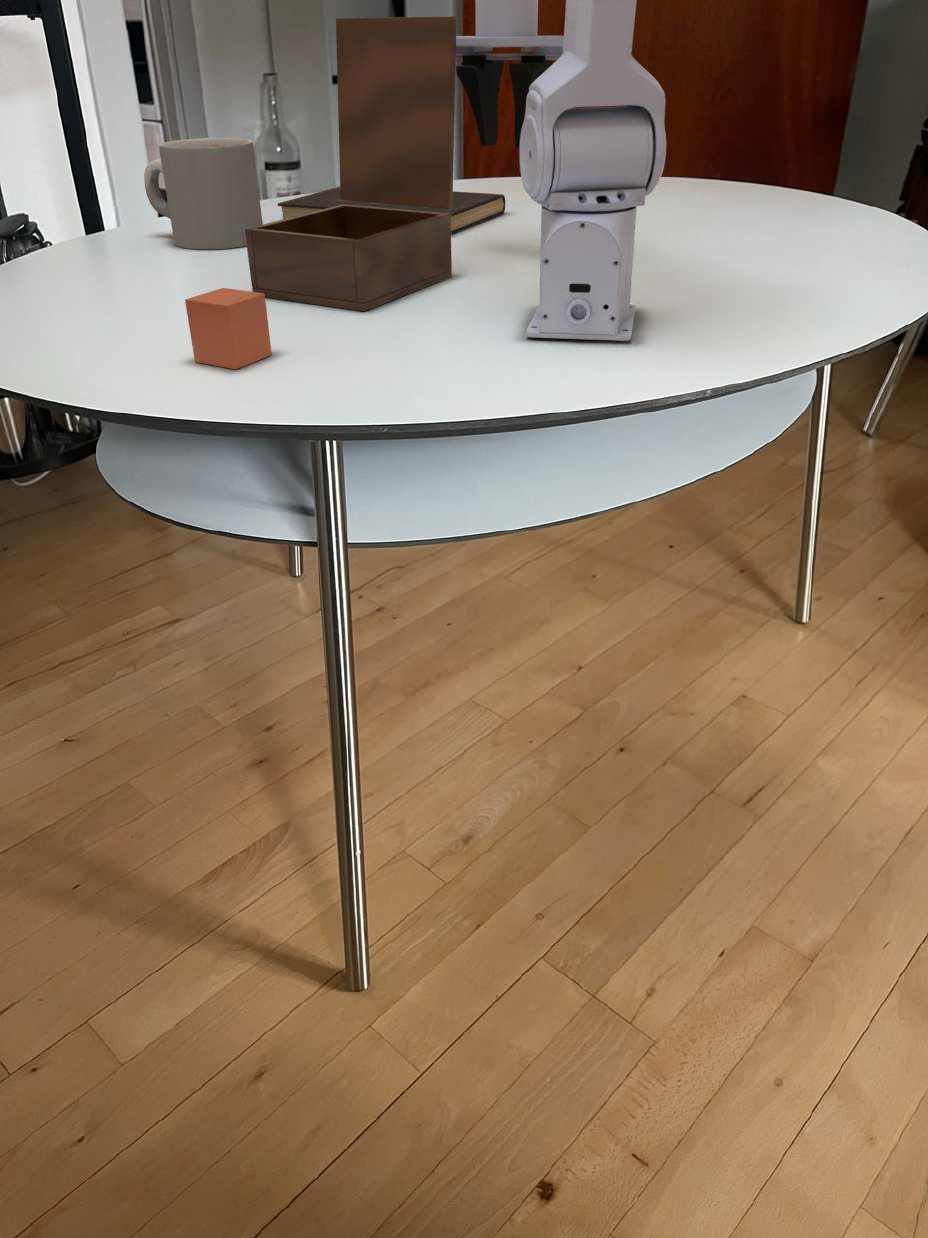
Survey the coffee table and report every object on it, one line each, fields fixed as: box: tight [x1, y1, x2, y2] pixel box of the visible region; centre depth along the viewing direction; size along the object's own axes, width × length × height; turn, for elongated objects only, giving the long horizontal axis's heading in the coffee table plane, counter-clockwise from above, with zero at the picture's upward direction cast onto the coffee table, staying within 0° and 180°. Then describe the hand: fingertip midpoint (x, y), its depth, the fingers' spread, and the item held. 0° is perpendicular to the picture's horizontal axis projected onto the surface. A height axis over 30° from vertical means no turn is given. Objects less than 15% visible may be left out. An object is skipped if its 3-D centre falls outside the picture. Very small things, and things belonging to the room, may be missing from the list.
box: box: [245, 204, 453, 312], centre depth 90 cm, size 14×12×6 cm
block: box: [184, 287, 273, 370], centre depth 72 cm, size 4×4×4 cm
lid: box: [335, 15, 458, 209], centre depth 90 cm, size 15×12×1 cm
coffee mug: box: [143, 137, 264, 250], centre depth 110 cm, size 13×10×10 cm
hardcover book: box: [277, 186, 506, 236], centre depth 121 cm, size 16×23×2 cm
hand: (505, 145), depth 96 cm, fingers open, 3 cm apart
